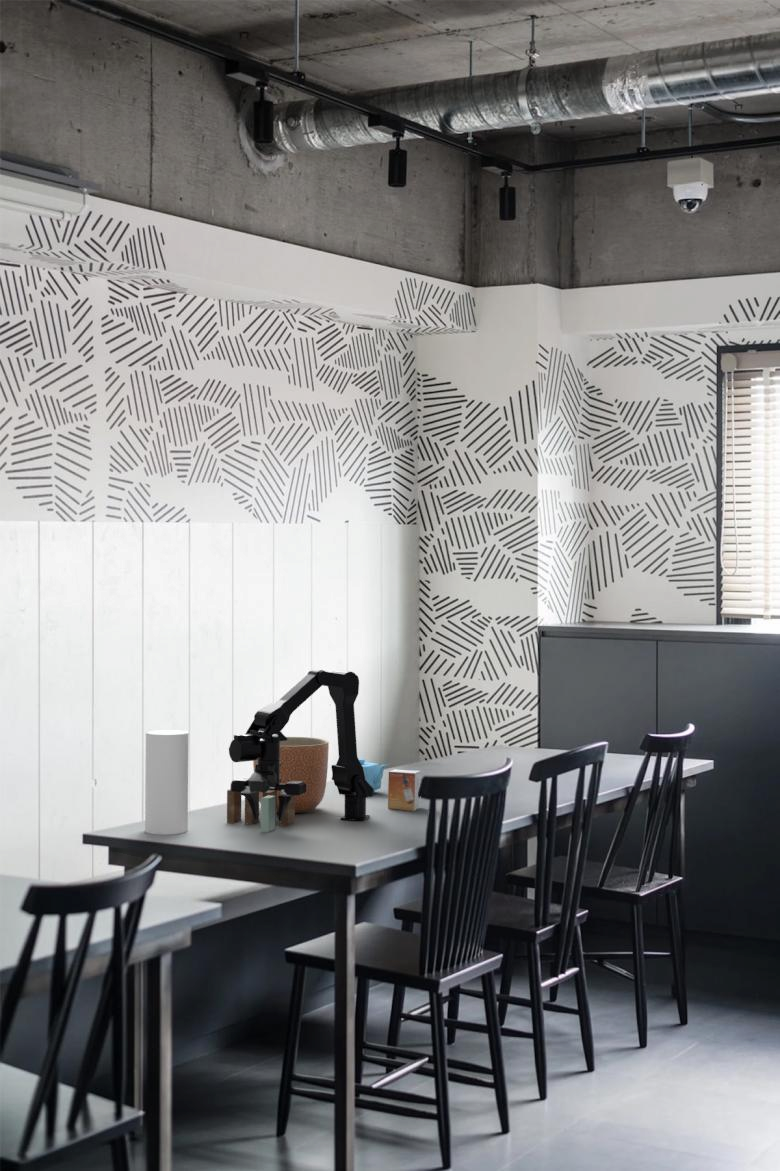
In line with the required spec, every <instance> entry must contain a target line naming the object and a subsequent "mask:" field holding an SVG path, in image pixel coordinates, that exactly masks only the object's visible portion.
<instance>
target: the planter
mask: <svg viewBox="0 0 780 1171" xmlns="http://www.w3.org/2000/svg"><path fill="white" fill-rule="evenodd" d="M286 737H287V741H280V762H281V766H280V778H281V782H280V783H281V784H285V783H287V782H290V781H304V782H305V784H306V792H305V793H303V794H301V795H295V814H300V813H307V812H310V811H314V809H316V808H317V807H319V805H320V804H321V802H322V801H323V800H324V796H325V793H326V787H327V780H328V770H329V769H328V767H329V748H330V747H329V744H330V743H329V740H327V739H325V738H318V737H308V736H286ZM252 763H253V773H254V772H255V766H256V764H257V760H254V761H253V762H252ZM281 793H282V792H281V791H277V813H278V812H279V798H278V796H279V795H281ZM261 798H263V793H262V792H259V804H261Z"/></svg>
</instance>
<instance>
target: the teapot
mask: <svg viewBox="0 0 780 1171" xmlns="http://www.w3.org/2000/svg"><path fill="white" fill-rule="evenodd" d="M358 759H359V761H360V763H361V765H362V767H363V770H364V774H365V780H366V781H367V782H368V783H369V784H370V786H371V787H372V788H373V789H374V790H373V794H376V791H378V790H380V789H381V787H382V779H383V776H384V770H385V768H386V767H387V766H388V764H381V765H380V763H375V762H366V759H364V758H358Z"/></svg>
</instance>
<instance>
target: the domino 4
mask: <svg viewBox="0 0 780 1171" xmlns="http://www.w3.org/2000/svg"><path fill="white" fill-rule="evenodd" d="M274 830H276V823H275V796H270V795H268V796H265V797H263V798H261V803H260V832H261V833H270V832H271V831H274Z"/></svg>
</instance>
